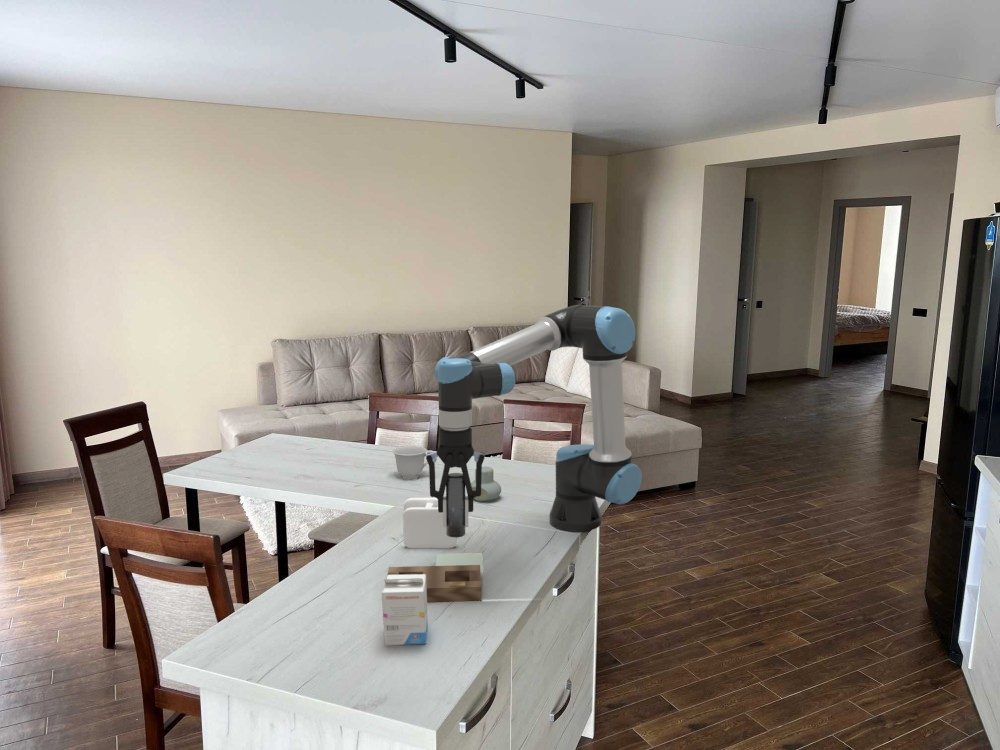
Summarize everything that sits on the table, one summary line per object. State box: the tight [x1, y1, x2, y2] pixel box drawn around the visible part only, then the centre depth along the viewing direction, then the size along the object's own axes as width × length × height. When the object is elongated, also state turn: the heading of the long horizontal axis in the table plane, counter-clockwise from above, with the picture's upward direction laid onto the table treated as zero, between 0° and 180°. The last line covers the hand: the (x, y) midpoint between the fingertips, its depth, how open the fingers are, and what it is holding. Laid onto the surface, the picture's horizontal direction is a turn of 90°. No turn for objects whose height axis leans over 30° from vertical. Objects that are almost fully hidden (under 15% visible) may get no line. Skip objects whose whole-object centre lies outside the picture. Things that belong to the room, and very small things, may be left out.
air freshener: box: [471, 466, 502, 502], centre depth 237 cm, size 11×8×10 cm
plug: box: [445, 472, 466, 538], centre depth 170 cm, size 4×4×14 cm
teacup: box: [392, 445, 434, 481], centre depth 259 cm, size 12×15×10 cm
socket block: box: [386, 565, 482, 604], centre depth 173 cm, size 22×12×4 cm, turn 93°
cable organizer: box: [402, 497, 458, 549], centre depth 201 cm, size 15×11×12 cm
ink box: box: [381, 574, 429, 646], centre depth 152 cm, size 9×8×13 cm
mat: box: [435, 552, 485, 574], centre depth 187 cm, size 12×12×1 cm
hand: (455, 524), depth 171 cm, fingers closed on plug, 4 cm apart
